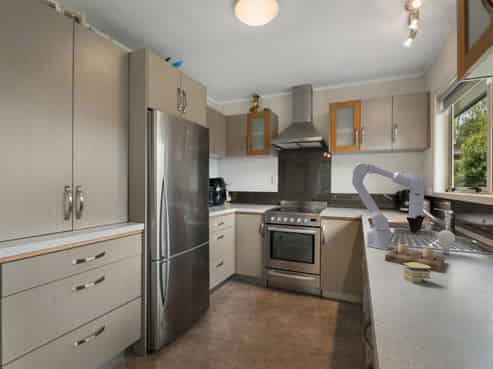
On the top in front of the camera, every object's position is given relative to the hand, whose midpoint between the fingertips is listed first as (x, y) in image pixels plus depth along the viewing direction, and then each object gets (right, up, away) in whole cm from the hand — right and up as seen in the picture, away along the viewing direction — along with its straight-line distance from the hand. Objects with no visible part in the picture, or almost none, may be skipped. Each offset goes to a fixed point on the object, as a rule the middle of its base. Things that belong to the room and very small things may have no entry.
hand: (415, 231), depth 119 cm
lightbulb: (+12, -10, -3) cm, 16 cm away
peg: (-8, -10, -19) cm, 23 cm away
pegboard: (-11, -9, -16) cm, 21 cm away
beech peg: (-14, -9, -13) cm, 21 cm away
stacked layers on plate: (-24, -10, -36) cm, 44 cm away
